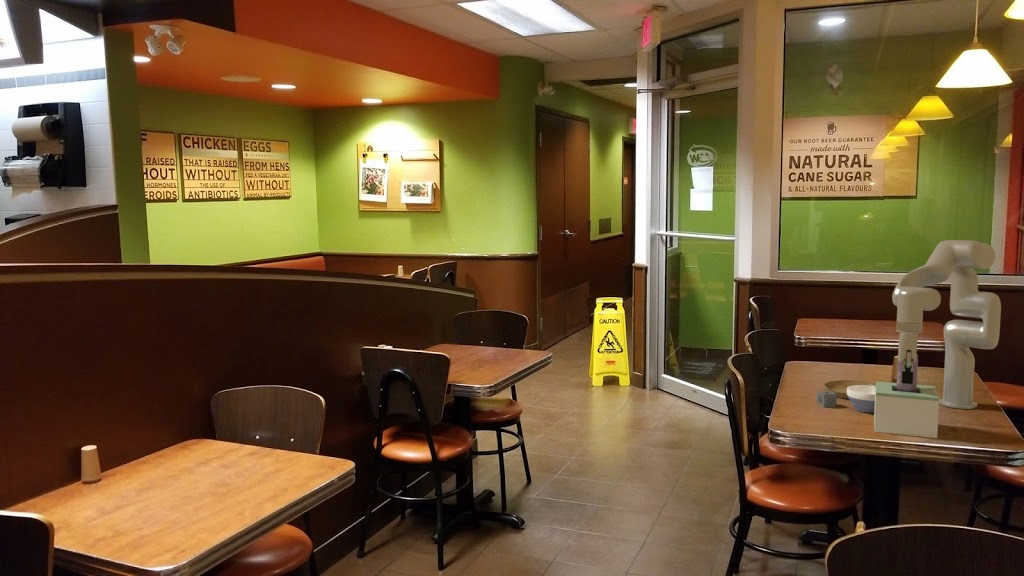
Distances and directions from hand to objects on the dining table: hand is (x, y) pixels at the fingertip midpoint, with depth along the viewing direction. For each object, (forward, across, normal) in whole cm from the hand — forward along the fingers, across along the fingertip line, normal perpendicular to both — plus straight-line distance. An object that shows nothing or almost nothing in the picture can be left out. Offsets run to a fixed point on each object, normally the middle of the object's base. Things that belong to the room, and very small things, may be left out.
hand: (906, 380), depth 257 cm
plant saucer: (+17, -44, -15) cm, 49 cm away
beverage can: (+6, 0, 0) cm, 6 cm away
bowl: (+16, -20, -11) cm, 28 cm away
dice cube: (+16, -21, -25) cm, 36 cm away
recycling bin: (+16, 0, 0) cm, 16 cm away
